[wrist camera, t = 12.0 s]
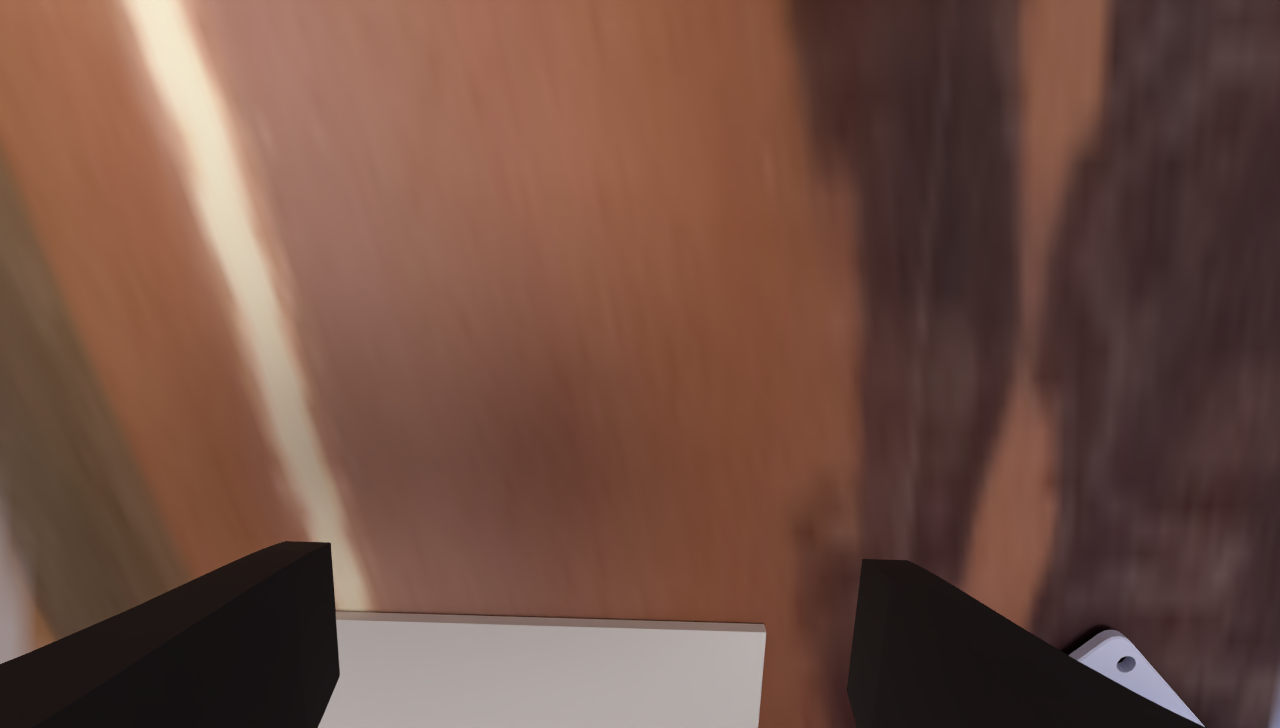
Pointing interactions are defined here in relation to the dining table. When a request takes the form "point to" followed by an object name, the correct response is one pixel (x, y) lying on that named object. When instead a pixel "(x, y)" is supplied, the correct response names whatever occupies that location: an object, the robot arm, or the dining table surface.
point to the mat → (543, 672)
